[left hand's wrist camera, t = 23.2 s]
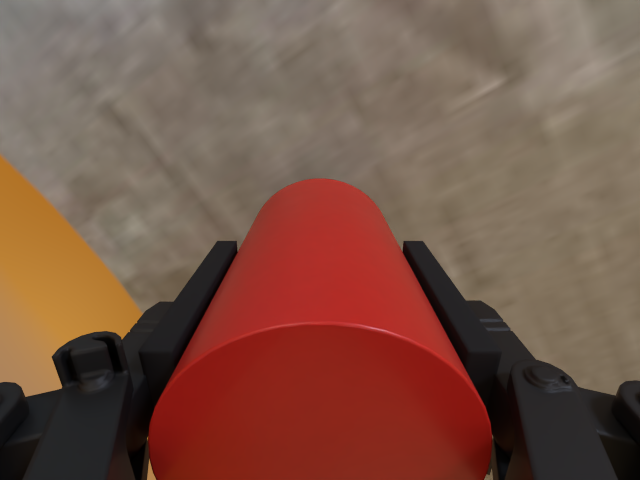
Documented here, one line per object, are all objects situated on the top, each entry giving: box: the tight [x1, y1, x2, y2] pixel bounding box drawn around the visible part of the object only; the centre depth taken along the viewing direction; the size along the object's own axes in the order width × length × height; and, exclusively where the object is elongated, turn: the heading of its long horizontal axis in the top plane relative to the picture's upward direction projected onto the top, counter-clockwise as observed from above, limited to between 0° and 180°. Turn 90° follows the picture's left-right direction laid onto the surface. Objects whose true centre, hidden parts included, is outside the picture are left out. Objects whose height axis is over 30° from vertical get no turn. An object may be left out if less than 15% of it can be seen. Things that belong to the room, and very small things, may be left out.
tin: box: [148, 179, 492, 480], centre depth 12 cm, size 7×7×11 cm
